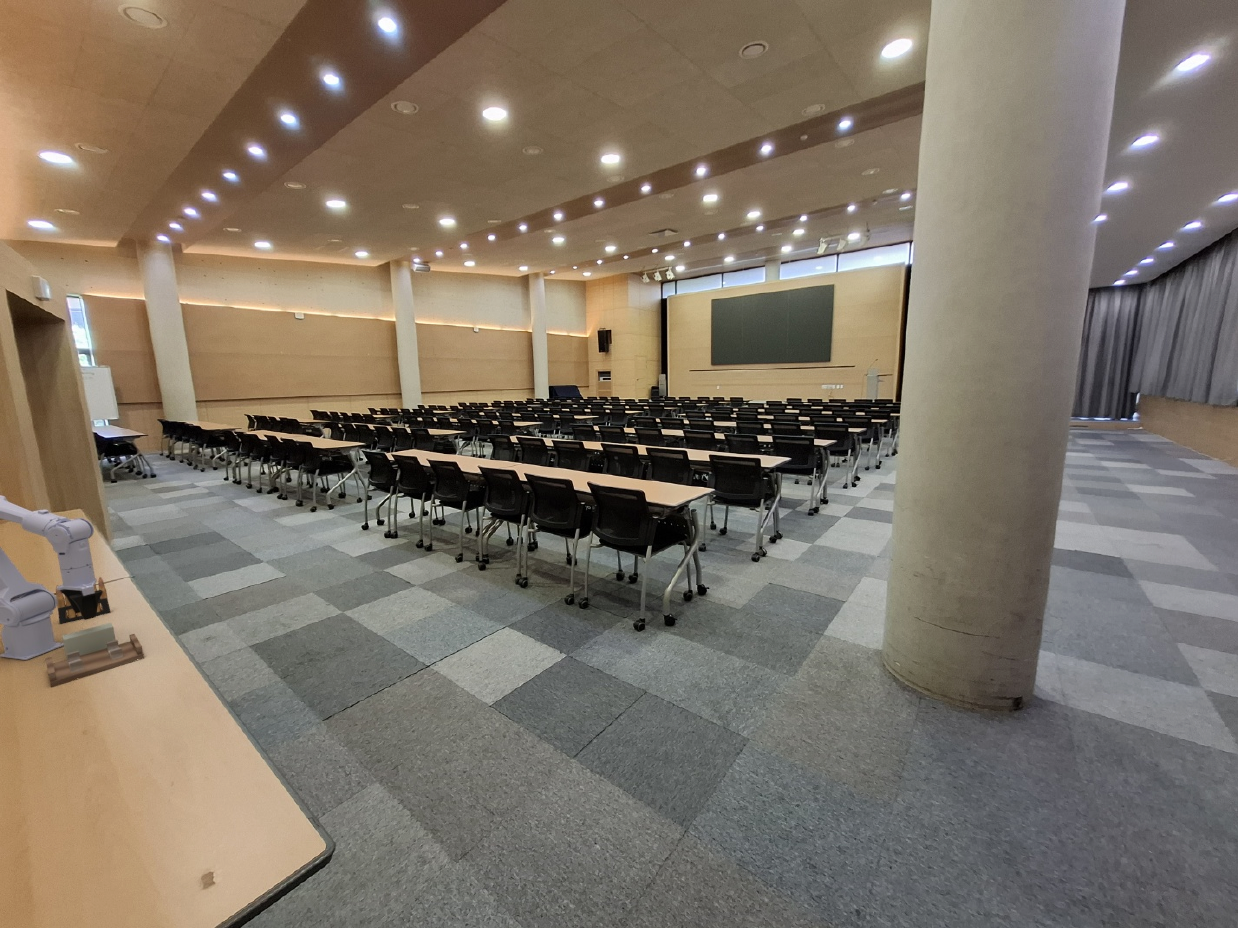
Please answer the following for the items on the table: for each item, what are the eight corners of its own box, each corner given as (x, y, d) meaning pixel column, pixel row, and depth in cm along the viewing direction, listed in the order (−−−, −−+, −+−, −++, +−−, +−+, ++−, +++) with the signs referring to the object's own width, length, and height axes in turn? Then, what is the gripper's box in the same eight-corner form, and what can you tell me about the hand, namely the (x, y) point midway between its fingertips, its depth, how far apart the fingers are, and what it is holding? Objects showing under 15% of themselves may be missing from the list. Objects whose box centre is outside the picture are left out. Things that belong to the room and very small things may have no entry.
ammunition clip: (59, 624, 147) (52, 586, 146) (60, 622, 149) (53, 584, 147) (110, 612, 155) (104, 576, 153) (110, 611, 156) (104, 575, 154)
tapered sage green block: (66, 656, 129) (62, 635, 129) (114, 642, 136) (111, 622, 136) (67, 661, 127) (63, 639, 126) (116, 647, 134) (113, 626, 133)
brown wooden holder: (47, 669, 123) (45, 656, 122) (135, 643, 135) (133, 631, 135) (51, 687, 116) (48, 673, 115) (144, 658, 128) (142, 645, 128)
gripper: (46, 565, 128) (55, 614, 130) (61, 575, 121) (71, 627, 123) (84, 557, 134) (93, 604, 136) (102, 567, 127) (110, 616, 129)
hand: (85, 614), depth 130 cm, fingers open, 7 cm apart
